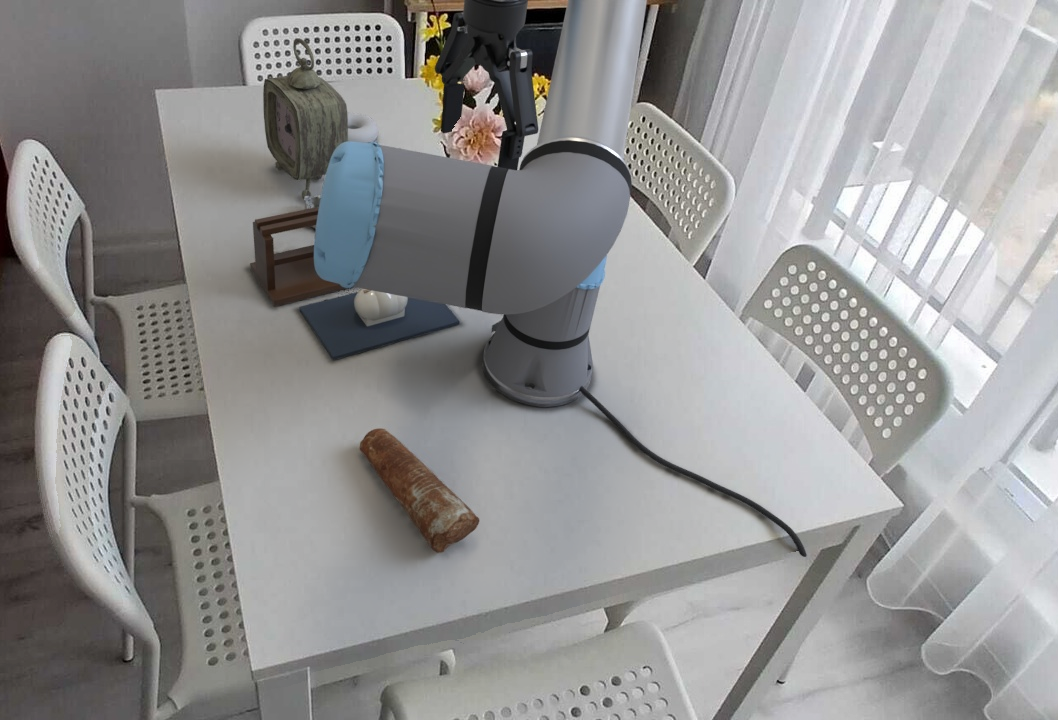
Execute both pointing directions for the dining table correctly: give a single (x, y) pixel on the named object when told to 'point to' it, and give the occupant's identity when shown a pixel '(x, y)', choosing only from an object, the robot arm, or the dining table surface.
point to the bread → (419, 491)
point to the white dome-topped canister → (379, 306)
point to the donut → (361, 128)
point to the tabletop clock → (303, 121)
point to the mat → (352, 336)
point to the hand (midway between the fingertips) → (477, 153)
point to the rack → (287, 261)
